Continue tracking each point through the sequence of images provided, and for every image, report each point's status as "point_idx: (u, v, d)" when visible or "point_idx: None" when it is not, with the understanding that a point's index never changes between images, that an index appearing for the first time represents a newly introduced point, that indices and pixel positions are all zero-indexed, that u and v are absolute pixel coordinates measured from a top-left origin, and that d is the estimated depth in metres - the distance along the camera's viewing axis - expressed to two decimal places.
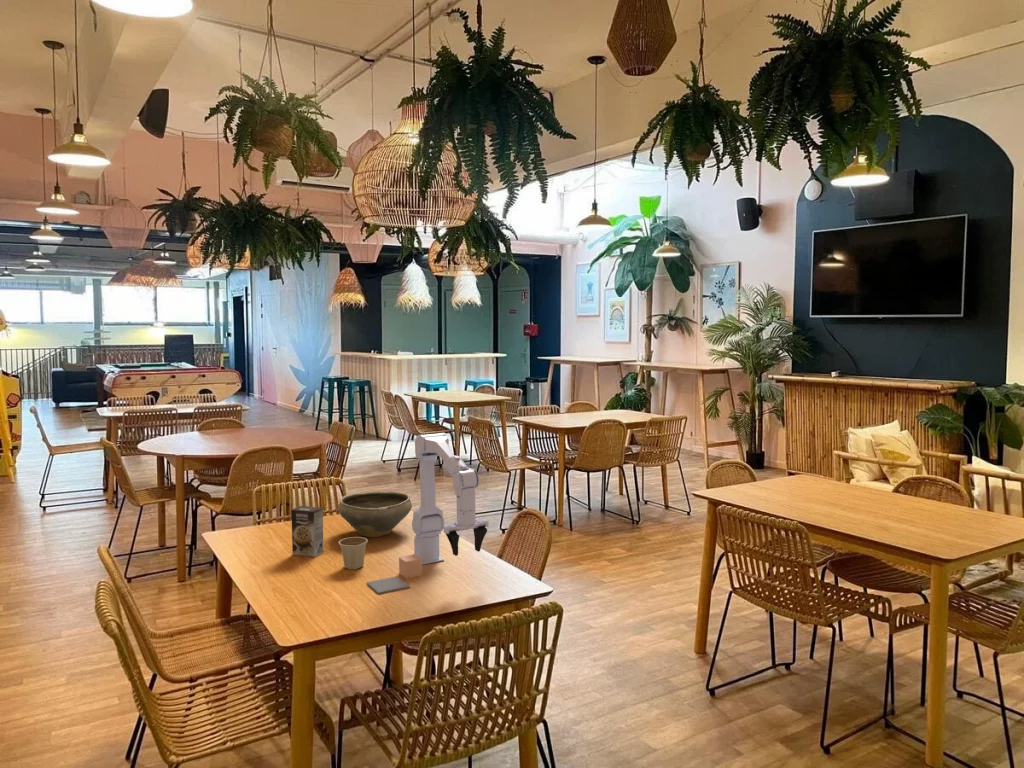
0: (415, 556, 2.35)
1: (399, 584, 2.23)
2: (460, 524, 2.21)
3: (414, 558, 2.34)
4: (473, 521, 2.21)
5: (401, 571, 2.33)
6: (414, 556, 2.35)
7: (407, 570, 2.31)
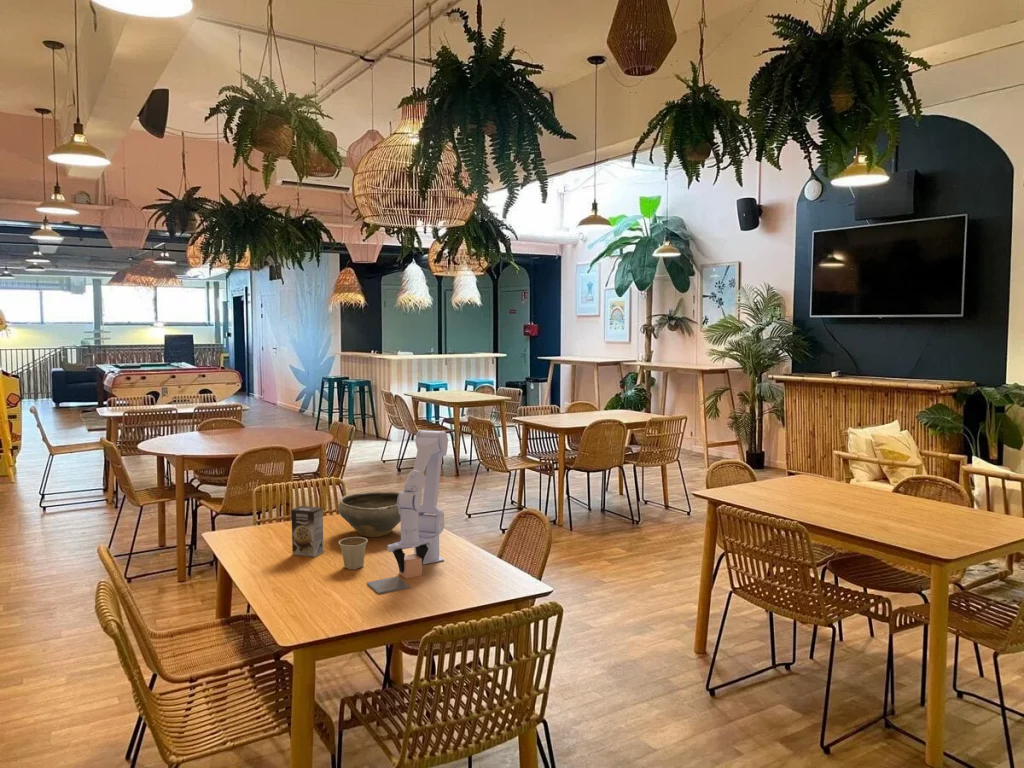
0: (415, 556, 2.35)
1: (399, 584, 2.23)
2: (403, 543, 2.31)
3: (414, 557, 2.34)
4: (416, 540, 2.32)
5: None
6: (414, 556, 2.35)
7: (407, 570, 2.31)
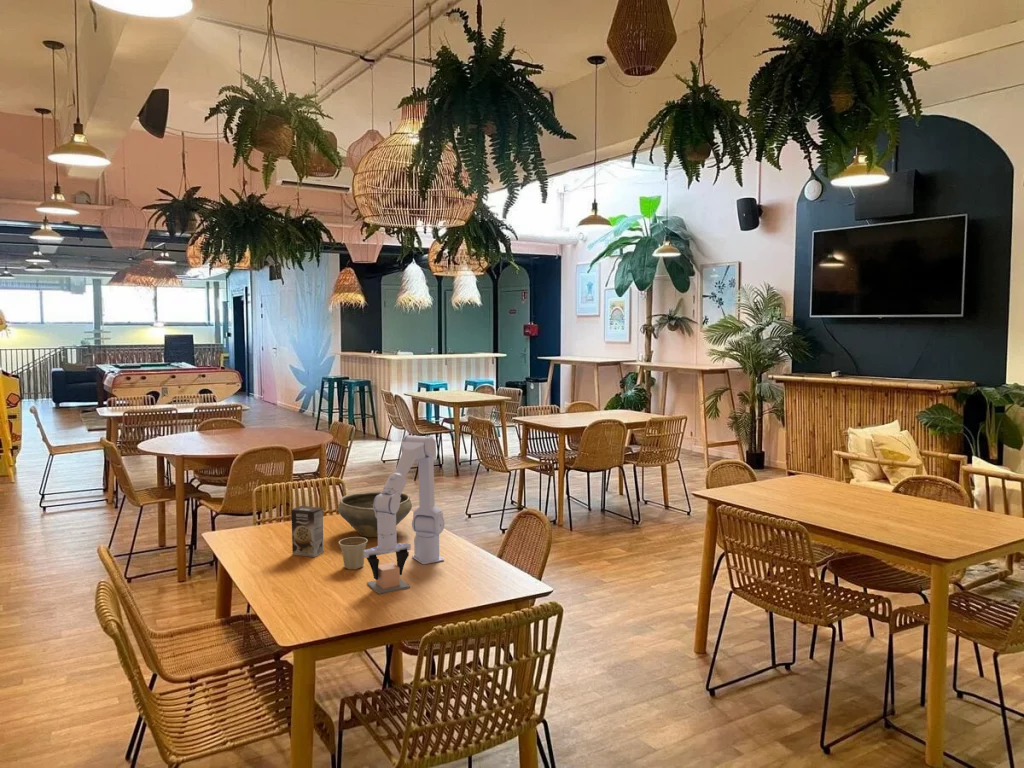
0: (393, 565, 2.25)
1: None
2: (380, 548, 2.21)
3: (391, 566, 2.23)
4: (393, 545, 2.21)
5: (378, 580, 2.23)
6: (391, 565, 2.25)
7: (384, 580, 2.20)
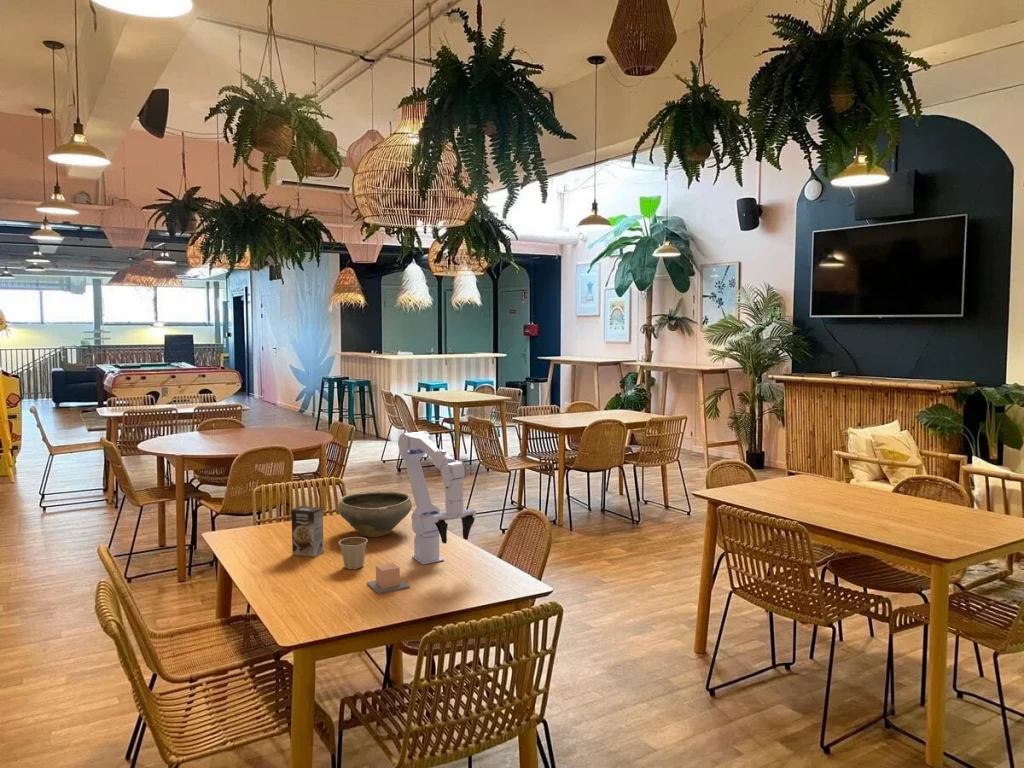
0: (393, 565, 2.25)
1: None
2: (448, 513, 2.32)
3: (391, 566, 2.23)
4: (461, 511, 2.32)
5: (378, 580, 2.23)
6: (391, 565, 2.25)
7: (384, 580, 2.20)
